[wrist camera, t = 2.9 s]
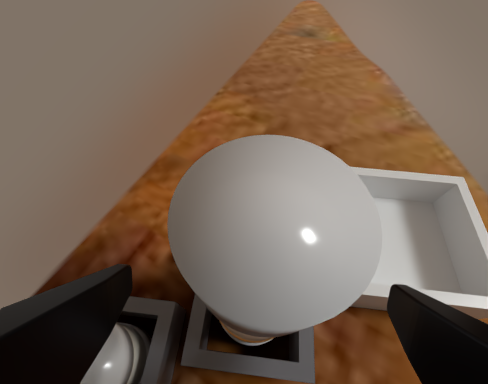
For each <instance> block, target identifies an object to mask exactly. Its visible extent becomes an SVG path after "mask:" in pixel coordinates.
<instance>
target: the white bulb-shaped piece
mask: <svg viewBox="0 0 488 384" xmlns="http://www.w3.org/2000/svg"><path fill="white" fill-rule="evenodd" d="M168 238H169V243H170V248H171V252H172V255H173V257H174V260H175V263H176V265H177V267H178V269H179V270H180V272H181V274H182V276H183V278H184V279H185V280H186V282H187V283H188V284H189V286H190V287H191V288H192V289H193V291H194V292H195V293H196V295H197V296H198V297H199V298H200V300H201V301H202V302H203V303H204V305H205V306H206V307H207V308H208V310H209V311H210V312H211V313H212V314H213V315H214V316H215V317H216V318H217V319H218V320H220V322H221V325H222V326H223V328H224V330H225V331H226V332H227V334H228V335H229V336H230V337H231V338H232V339H233V340H235V341H236V342H238V343H240V344H242V345H246V346H258V345H261V344H264V343H266V342H269V341H270V340H272V339H273V338H275V337H280V336H284V335H288V334H292V333H294V332H297V331H300V330H303V329H305V328H308V327H311V326H314V325H316V324H319V323H321V322H324V321H326V320H328V319H331V318H333V317H335V316H336V315H338V314H340V313H341V312H343V311H344V310H346V309H347V308H348V307H349V306H351V305H352V304H353V303H354V302H355V301H356V300H357V299H358V298H359V297H360V296H361V295H362V293H363V292H364V291H365V290H366V288H367V287H368V285H369V284H370V282H371V280H372V278H373V277H374V275H375V272H376V269H377V267H378V264H379V261H380V255H381V250H382V228H381V221H380V217H379V213H378V210H377V207H376V205H375V202H374V200H373V198H372V196H371V194H370V192H369V191H368V189H367V187H366V186H365V184H364V183H363V182H362V180H361V179H360V178H359V176H358V175H357V174H356V173H355V172H354V171H353V170H352V169H351V168H350V167H349V166H348V165H347V164H346V163H344V162H343V161H342V160H341V159H339V158H338V157H336V156H335V155H334V154H332V153H330V152H329V151H327V150H325V149H323V148H321V147H319V146H317V145H315V144H312V143H310V142H307V141H304V140H301V139H297V138H292V137H287V136H280V135H255V136H249V137H243V138H239V139H236V140H232V141H230V142H227V143H224V144H222V145H220V146H218V147H216V148H214V149H212V150H211V151H209V152H208V153H206V154H205V155H203V156H202V157H201V158H200V159H199V160H197V161H196V162H195V163H194V164H193V165H192V166H191V167H190V168H189V169H188V171H187V172H186V173H185V175H184V176H183V177H182V179H181V180H180V182H179V184H178V186H177V188H176V190H175V192H174V195H173V197H172V200H171V204H170V208H169V213H168Z"/></svg>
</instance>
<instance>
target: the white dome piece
mask: <svg viewBox="0 0 488 384" xmlns="http://www.w3.org/2000/svg"><path fill="white" fill-rule="evenodd" d="M151 341H152V339H151V337H150V336H149V334H148V333H147V332H146V331H145V330H144V329H142V328H140V327H138V326H135V325H131V324H127V323H118V322H117V323H116V325H115V327H114V329H113V330H112V332H111V334H110V336H109V337H108V339H107V341H106V342H105V344H104V346H103V347H102V349H101V350H100V352H99V354H98V355H97V357H96V359H95V360H94V362H93V363H92V365H91V367H90V368H89V370H88V371H87V373H86V375H85V376H84V378H83V379H82V381H81V383H80V384H140V383H141V379H142V375H143V372H144V368H145V364H146V360H147V357H148V353H149V349H150V345H151Z"/></svg>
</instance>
